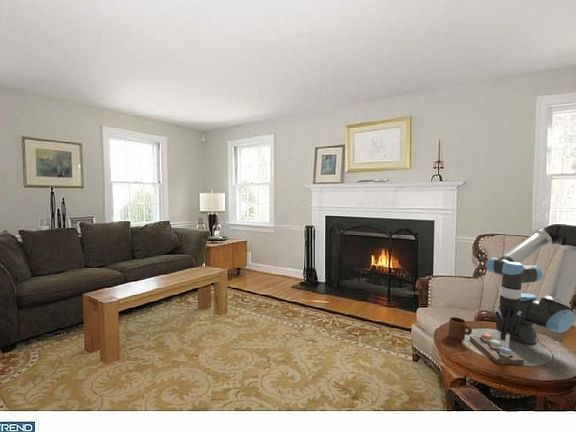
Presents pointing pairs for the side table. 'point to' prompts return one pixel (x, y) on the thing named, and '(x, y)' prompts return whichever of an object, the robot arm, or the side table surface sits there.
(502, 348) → the blue button
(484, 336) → the terracotta button
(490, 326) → the side table surface
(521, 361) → the button panel
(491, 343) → the sage button
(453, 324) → the mug
